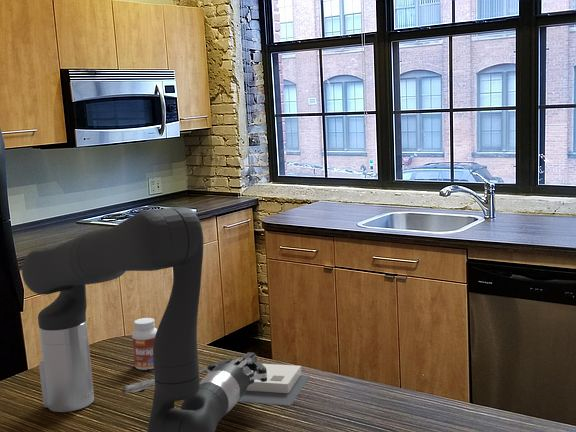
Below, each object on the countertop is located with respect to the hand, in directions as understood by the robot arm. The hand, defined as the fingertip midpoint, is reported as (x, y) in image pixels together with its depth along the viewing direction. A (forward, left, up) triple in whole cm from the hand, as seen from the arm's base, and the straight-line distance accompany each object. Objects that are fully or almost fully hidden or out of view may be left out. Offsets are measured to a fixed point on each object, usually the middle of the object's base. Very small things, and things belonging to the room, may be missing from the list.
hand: (251, 356), depth 139 cm
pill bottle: (-30, +10, -8) cm, 32 cm away
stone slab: (-21, +2, -8) cm, 23 cm away
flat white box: (0, -2, -6) cm, 6 cm away
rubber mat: (0, +1, -8) cm, 8 cm away
